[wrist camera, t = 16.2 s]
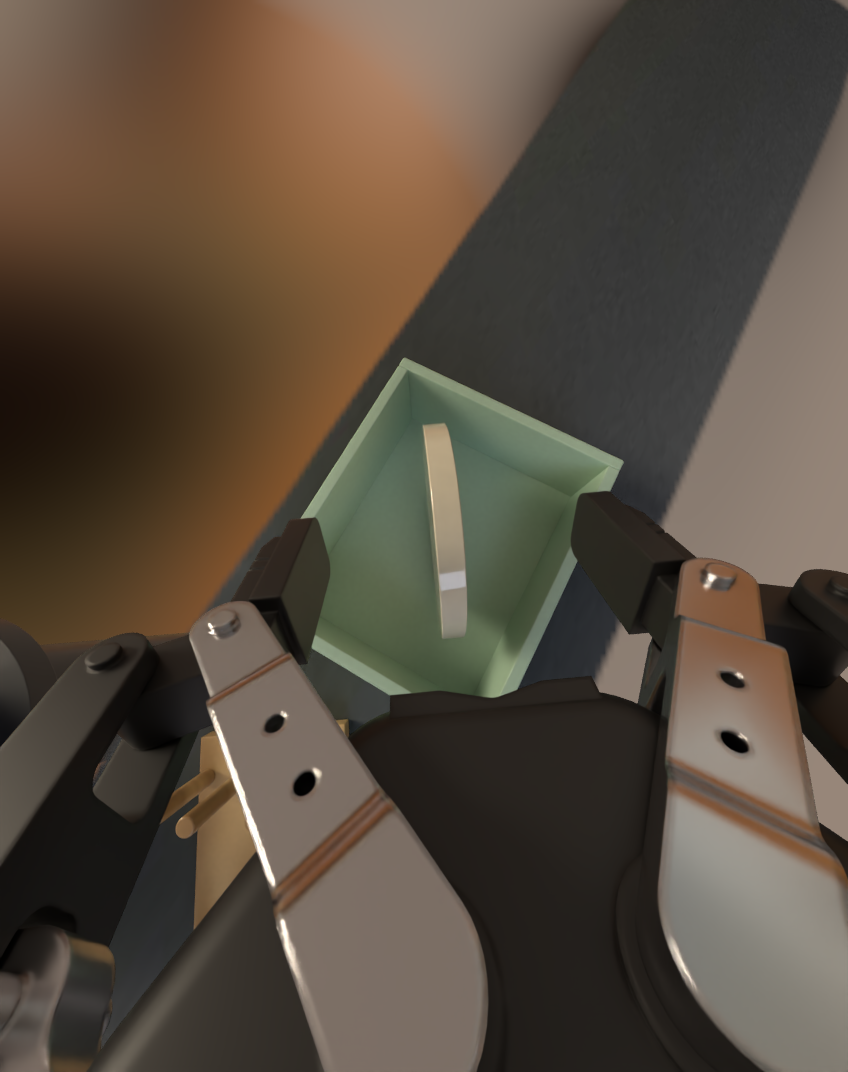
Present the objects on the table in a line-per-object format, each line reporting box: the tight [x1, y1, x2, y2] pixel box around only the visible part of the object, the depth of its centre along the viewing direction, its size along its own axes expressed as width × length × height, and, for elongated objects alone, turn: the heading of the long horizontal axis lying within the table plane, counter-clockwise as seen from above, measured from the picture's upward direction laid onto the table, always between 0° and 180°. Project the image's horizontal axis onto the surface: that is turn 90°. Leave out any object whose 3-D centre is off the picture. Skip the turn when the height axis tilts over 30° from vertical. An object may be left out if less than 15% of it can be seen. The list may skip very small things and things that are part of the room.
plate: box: [422, 422, 467, 640], centre depth 17 cm, size 1×10×10 cm, turn 5°
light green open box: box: [301, 358, 624, 698], centre depth 20 cm, size 15×13×6 cm
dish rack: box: [160, 719, 349, 929], centre depth 17 cm, size 8×11×6 cm
